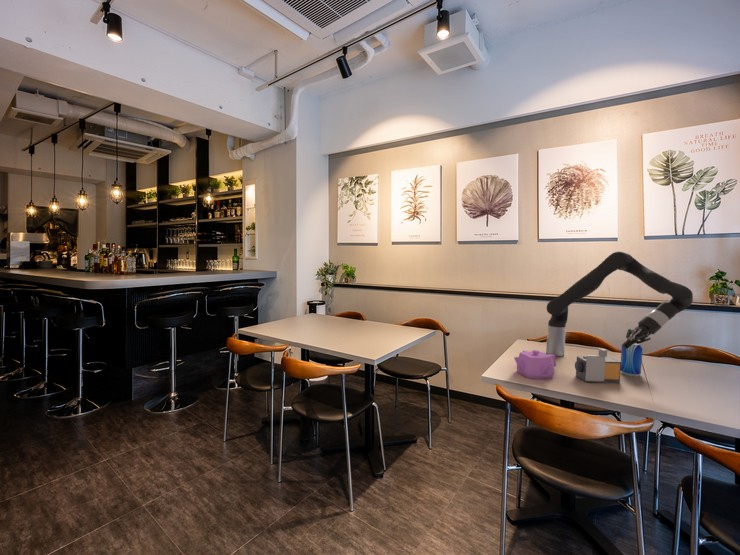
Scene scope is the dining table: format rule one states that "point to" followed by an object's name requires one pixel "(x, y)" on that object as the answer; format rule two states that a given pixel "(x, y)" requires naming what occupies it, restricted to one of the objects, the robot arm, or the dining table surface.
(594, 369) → the side door
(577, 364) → the camera body
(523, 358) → the teakettle
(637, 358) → the beer can
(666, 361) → the dining table surface
